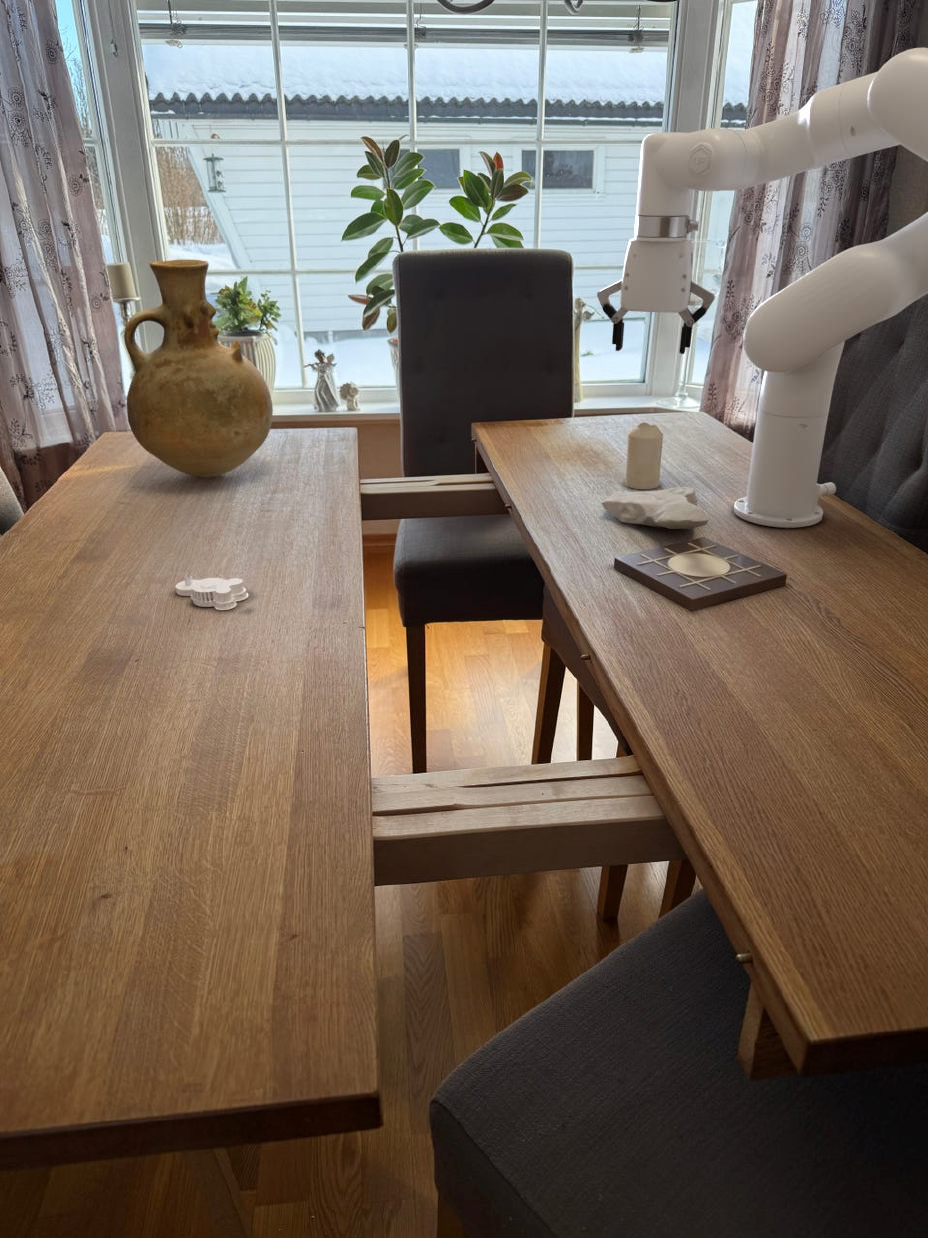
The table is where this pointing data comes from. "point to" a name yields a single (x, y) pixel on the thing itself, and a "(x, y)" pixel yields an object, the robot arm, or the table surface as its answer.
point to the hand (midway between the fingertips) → (650, 350)
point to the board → (699, 572)
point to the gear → (213, 591)
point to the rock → (658, 508)
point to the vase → (194, 382)
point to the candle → (644, 457)
